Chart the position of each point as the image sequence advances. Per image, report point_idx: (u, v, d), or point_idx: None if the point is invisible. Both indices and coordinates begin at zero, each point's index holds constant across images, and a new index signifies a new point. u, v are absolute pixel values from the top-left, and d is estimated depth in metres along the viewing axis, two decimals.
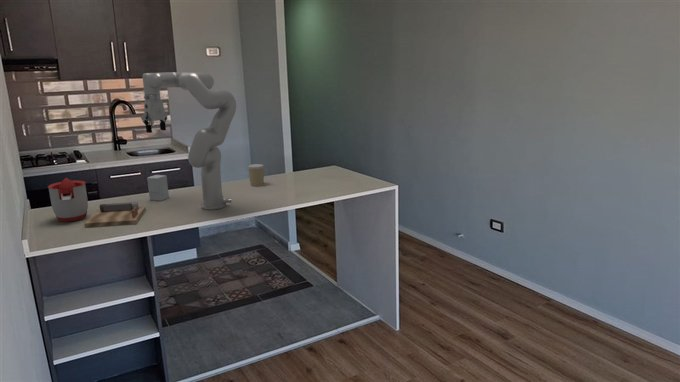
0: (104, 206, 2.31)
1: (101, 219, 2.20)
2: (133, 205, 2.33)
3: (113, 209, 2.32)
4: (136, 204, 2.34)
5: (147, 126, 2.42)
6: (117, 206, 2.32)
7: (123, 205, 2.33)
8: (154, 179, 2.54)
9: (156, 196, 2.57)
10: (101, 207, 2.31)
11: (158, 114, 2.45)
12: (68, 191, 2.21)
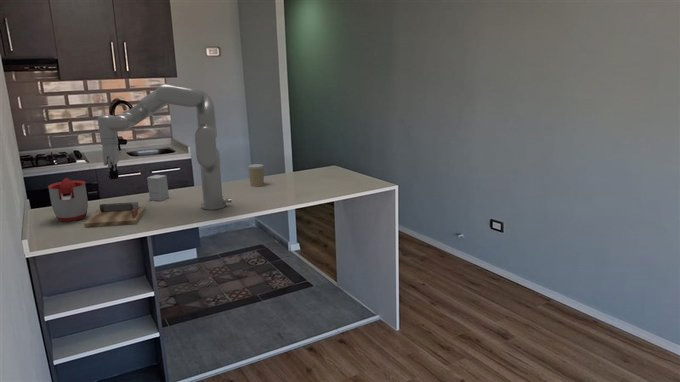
0: (104, 206, 2.31)
1: (101, 219, 2.20)
2: (133, 205, 2.33)
3: (113, 209, 2.32)
4: (136, 204, 2.34)
5: None
6: (117, 206, 2.32)
7: (123, 205, 2.33)
8: (154, 179, 2.54)
9: (156, 196, 2.57)
10: (101, 207, 2.31)
11: None
12: (68, 191, 2.21)
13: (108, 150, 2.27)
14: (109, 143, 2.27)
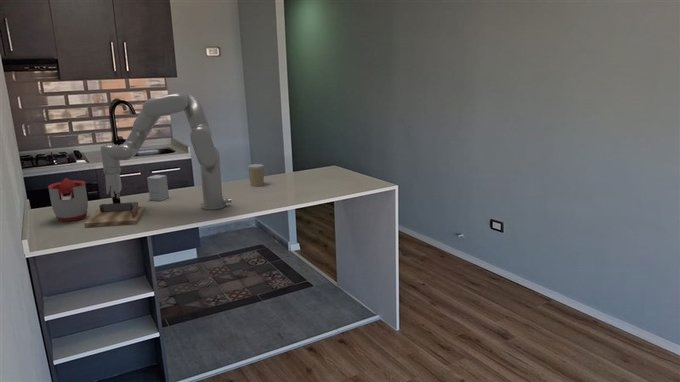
0: (104, 206, 2.31)
1: (101, 219, 2.20)
2: (133, 205, 2.33)
3: (113, 209, 2.32)
4: (136, 204, 2.34)
5: None
6: (117, 206, 2.32)
7: (123, 205, 2.33)
8: (154, 179, 2.54)
9: (156, 196, 2.57)
10: (101, 207, 2.31)
11: None
12: (68, 191, 2.21)
13: (111, 180, 2.29)
14: (112, 172, 2.29)
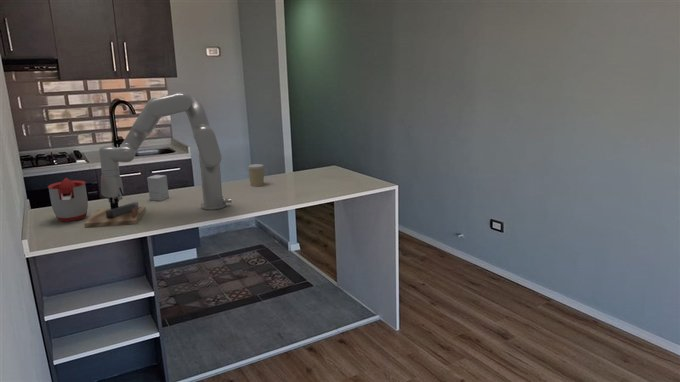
0: (113, 211, 2.22)
1: (101, 219, 2.20)
2: (136, 205, 2.34)
3: (120, 213, 2.26)
4: None
5: None
6: (123, 209, 2.27)
7: (128, 207, 2.30)
8: (154, 179, 2.54)
9: (156, 196, 2.57)
10: (110, 213, 2.21)
11: (107, 191, 2.24)
12: (68, 191, 2.21)
13: (119, 182, 2.23)
14: (118, 174, 2.23)
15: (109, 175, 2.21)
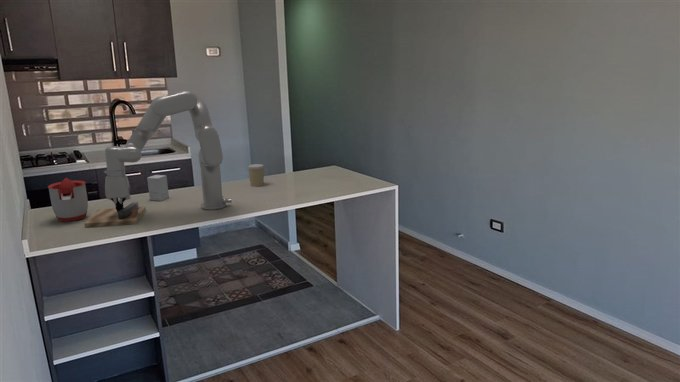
0: (125, 212, 2.22)
1: (101, 219, 2.20)
2: (137, 204, 2.35)
3: (129, 213, 2.26)
4: None
5: None
6: (130, 209, 2.27)
7: (133, 206, 2.30)
8: (154, 179, 2.54)
9: (156, 196, 2.57)
10: (123, 213, 2.20)
11: (115, 192, 2.21)
12: (68, 191, 2.21)
13: (127, 181, 2.23)
14: None
15: (119, 175, 2.19)
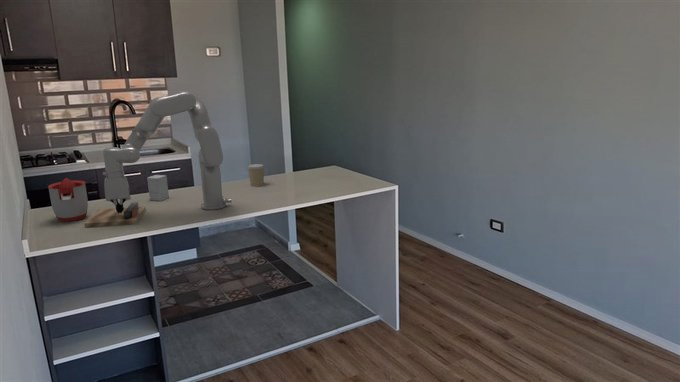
0: (130, 211, 2.22)
1: (101, 219, 2.20)
2: (137, 204, 2.35)
3: None
4: None
5: (116, 206, 2.24)
6: None
7: (135, 206, 2.30)
8: (154, 179, 2.54)
9: (156, 196, 2.57)
10: (130, 213, 2.21)
11: (115, 193, 2.20)
12: (68, 191, 2.21)
13: (127, 182, 2.23)
14: None
15: (119, 176, 2.19)
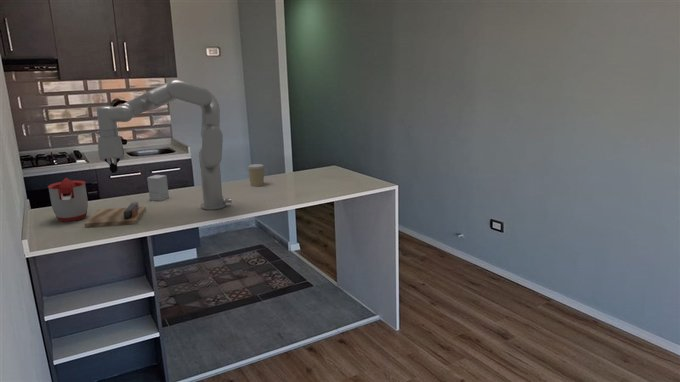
0: (130, 211, 2.22)
1: (101, 219, 2.20)
2: (137, 204, 2.35)
3: None
4: None
5: (109, 165, 2.23)
6: None
7: (135, 206, 2.30)
8: (154, 179, 2.54)
9: (156, 196, 2.57)
10: (130, 213, 2.21)
11: (109, 152, 2.19)
12: (68, 191, 2.21)
13: (120, 141, 2.22)
14: None
15: (113, 135, 2.18)
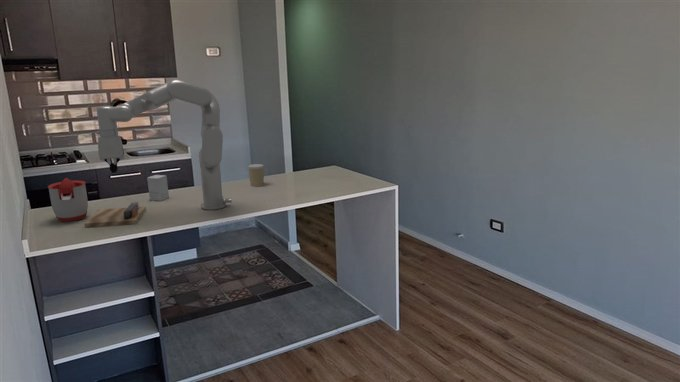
0: (130, 211, 2.22)
1: (101, 219, 2.20)
2: (137, 204, 2.35)
3: None
4: None
5: (109, 165, 2.23)
6: None
7: (135, 206, 2.30)
8: (154, 179, 2.54)
9: (156, 196, 2.57)
10: (130, 213, 2.21)
11: (109, 152, 2.19)
12: (68, 191, 2.21)
13: (120, 141, 2.22)
14: None
15: (113, 135, 2.18)
